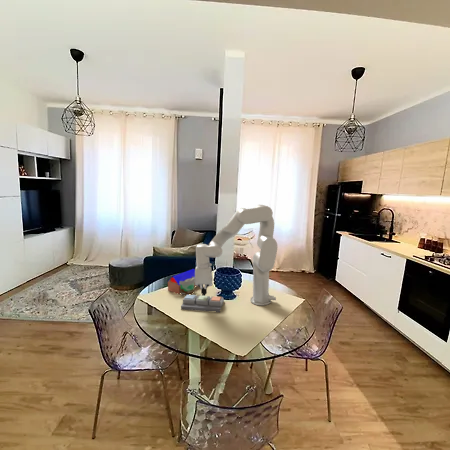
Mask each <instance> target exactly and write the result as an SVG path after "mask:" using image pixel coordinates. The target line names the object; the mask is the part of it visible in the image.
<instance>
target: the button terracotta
mask: <svg viewBox="0 0 450 450" xmlns="http://www.w3.org/2000/svg"><path fill="white" fill-rule="evenodd" d="M211 297H212V296H211ZM221 297H222V296H213V297H212V299H211V301H218V302H220V301H221Z"/></svg>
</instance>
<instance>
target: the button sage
mask: <svg viewBox="0 0 450 450" xmlns="http://www.w3.org/2000/svg"><path fill="white" fill-rule="evenodd" d="M198 296H199V295H198ZM208 296H209V295H205V296H204V295H203V296H202V294H201V295H200V296H199V298H198V300H204V301H207V299H208Z"/></svg>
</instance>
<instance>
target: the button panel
mask: <svg viewBox="0 0 450 450" xmlns="http://www.w3.org/2000/svg"><path fill="white" fill-rule="evenodd" d="M194 295H195V298H194V300H190V299H185V297H186V296H187V295H186V296H184V297H183V299H182V304H181V305H180V310H184V311H185V310H186V311H199V312H209V311H216V312H215V313H221V311H220V310H222V308H223V305H224V303H223V302H225V299H224V297H223V296H220V297H221V301H220V302H218V301H211V299H212V297H213V296H212V295H211V296H210V295H207V296H208V299H207V301H204V300H198V298H199V296H200V295H196V294H194ZM221 307H222V308H221Z"/></svg>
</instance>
